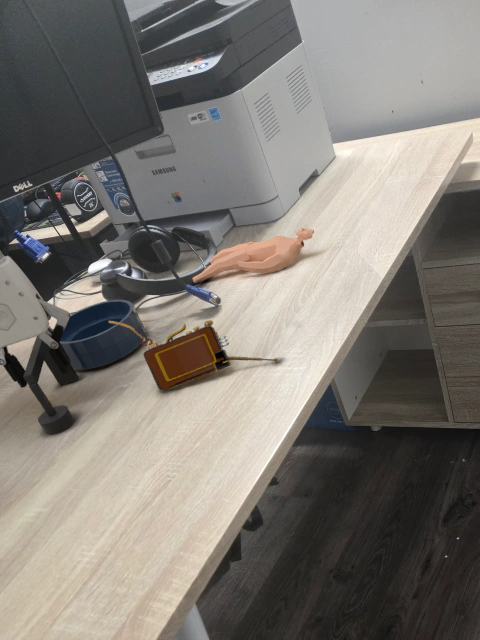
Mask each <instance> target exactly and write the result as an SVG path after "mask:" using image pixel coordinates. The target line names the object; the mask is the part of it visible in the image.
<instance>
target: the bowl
mask: <svg viewBox="0 0 480 640" xmlns="http://www.w3.org/2000/svg"><path fill="white" fill-rule="evenodd" d="M110 321H114V322H118V323H119V322H120V323H123V324H126V325H128V326H131V327H132V328H134V329H135V331H137V333H138V334H140V335H141V336H142V337H144V338H145V339H146V337H147V330H146V328H145V325H144V323H143V322H142V319H141V317H140V316H139V312H138V311H137V309H136V307H135V306H134V304H133V303H132V302H131V301H129V300H127V299H126V300H125V299H112V300H106V301H101V302H98V303H94V304H92V305H88V306H86V307H83V308H82V309H79V310H76V311H75V312H73V313H72V314H70V317H69V320H68V323H67V325H66V327H65V329H64V332H63V335H62V337H61V340H60V343H61V345H62V346H63V348H64V350H65V351H66V353H67V355H68V356H69V358H70V361H71V363H70V364H71V365H72V367H73V369H74V370H80V371H81V370H91V369H96V368H100V367H104V366H107V365H109V364H113V363H114V362H116V361H119V360H121V359H123V358H124V357H126V356H128V355H129V354H130V353H132V352H134V351H135V350H136V349H137V348H138V347H139V346H140V345H142V343H141V341H142V340H143V339H144V338H142V339H141V337H140V336H138V335H137V334H136V332H135V333H134V331H132V330H133V329H132V330H131V329H130V328H131V327H130V328H127V327H126V326H122V325H116V324H113V323H109V322H110ZM52 329H53V330H54V328H52Z"/></svg>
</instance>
